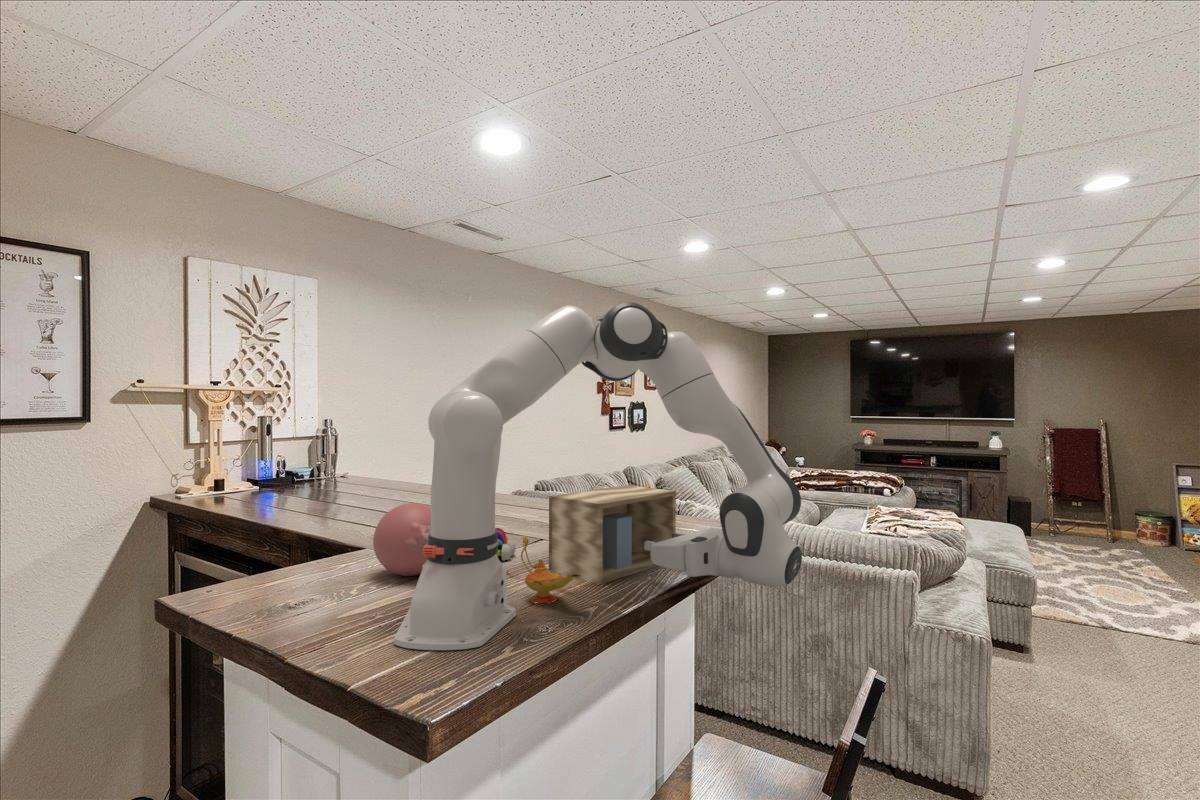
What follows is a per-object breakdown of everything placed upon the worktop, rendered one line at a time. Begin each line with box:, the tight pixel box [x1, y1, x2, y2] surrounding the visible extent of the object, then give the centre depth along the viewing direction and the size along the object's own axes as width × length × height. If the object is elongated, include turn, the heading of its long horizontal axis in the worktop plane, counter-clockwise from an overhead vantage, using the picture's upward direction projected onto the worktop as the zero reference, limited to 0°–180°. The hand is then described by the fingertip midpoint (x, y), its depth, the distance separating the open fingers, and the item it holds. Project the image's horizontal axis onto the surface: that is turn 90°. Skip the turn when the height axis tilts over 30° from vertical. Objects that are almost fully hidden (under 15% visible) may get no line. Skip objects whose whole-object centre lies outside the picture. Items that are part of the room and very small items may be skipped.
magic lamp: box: [520, 535, 581, 604], centre depth 110 cm, size 7×18×11 cm, turn 42°
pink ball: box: [372, 502, 431, 577], centre depth 126 cm, size 15×20×15 cm
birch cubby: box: [548, 484, 677, 585], centre depth 132 cm, size 15×26×17 cm, turn 137°
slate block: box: [603, 513, 632, 569], centre depth 132 cm, size 5×5×11 cm
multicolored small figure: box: [495, 527, 517, 562], centre depth 142 cm, size 8×10×7 cm
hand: (660, 540), depth 124 cm, fingers open, 8 cm apart
